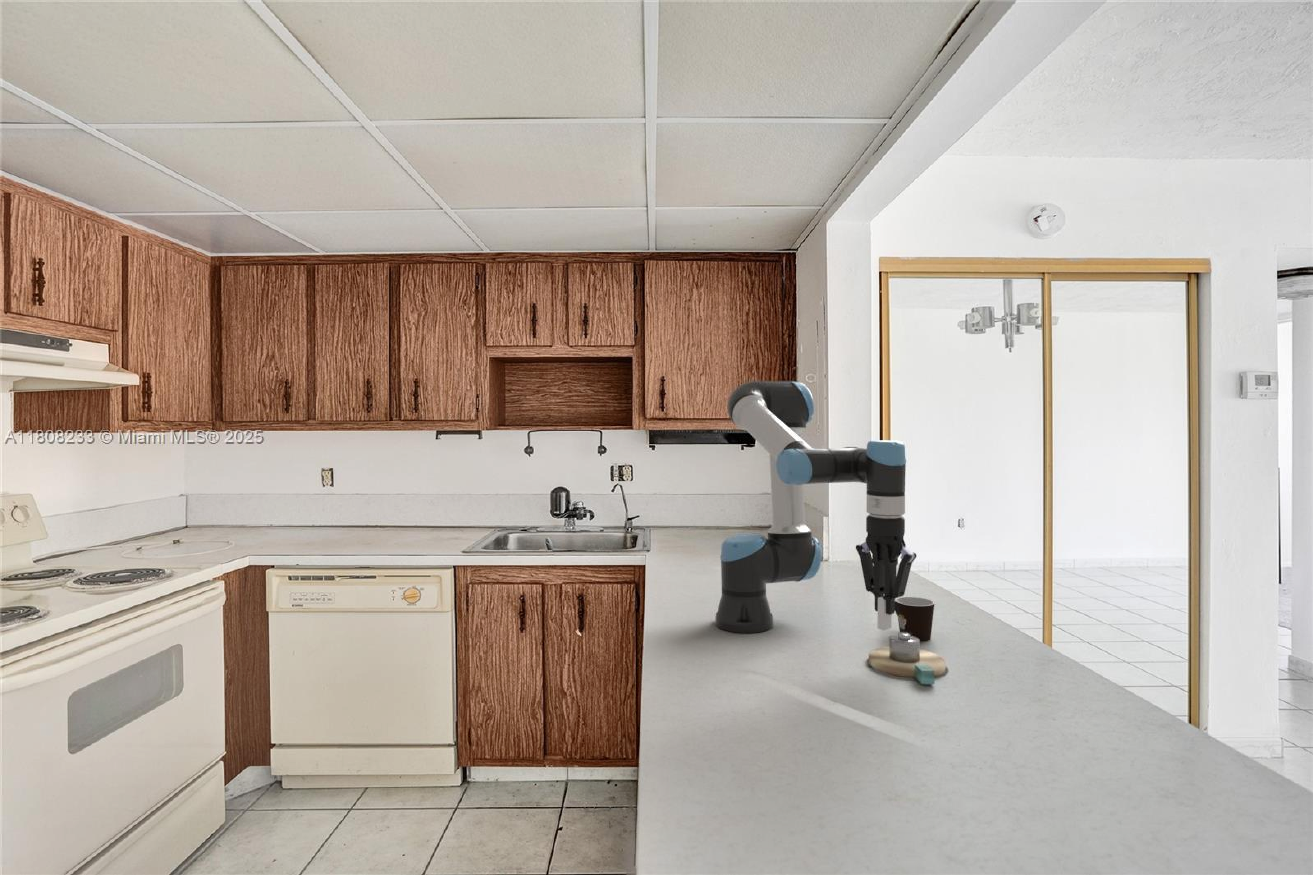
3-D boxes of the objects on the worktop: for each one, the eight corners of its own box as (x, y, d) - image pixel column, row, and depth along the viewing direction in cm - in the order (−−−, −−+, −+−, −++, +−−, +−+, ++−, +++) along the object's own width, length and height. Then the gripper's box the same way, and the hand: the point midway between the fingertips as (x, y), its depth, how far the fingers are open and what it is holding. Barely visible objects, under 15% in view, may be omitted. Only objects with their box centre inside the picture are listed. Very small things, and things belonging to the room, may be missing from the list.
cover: (895, 663, 133) (894, 638, 133) (885, 653, 139) (884, 630, 139) (924, 662, 133) (924, 638, 133) (913, 653, 139) (912, 629, 139)
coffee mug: (938, 650, 149) (938, 606, 149) (899, 648, 151) (898, 605, 151) (928, 634, 161) (927, 594, 161) (891, 633, 163) (891, 593, 163)
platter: (859, 653, 143) (859, 640, 143) (928, 653, 143) (927, 639, 143) (888, 686, 125) (888, 671, 125) (967, 686, 124) (967, 670, 124)
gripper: (847, 513, 137) (846, 623, 138) (903, 521, 127) (902, 640, 128) (868, 509, 142) (868, 617, 143) (924, 517, 131) (923, 632, 132)
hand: (884, 628), depth 135 cm, fingers closed
